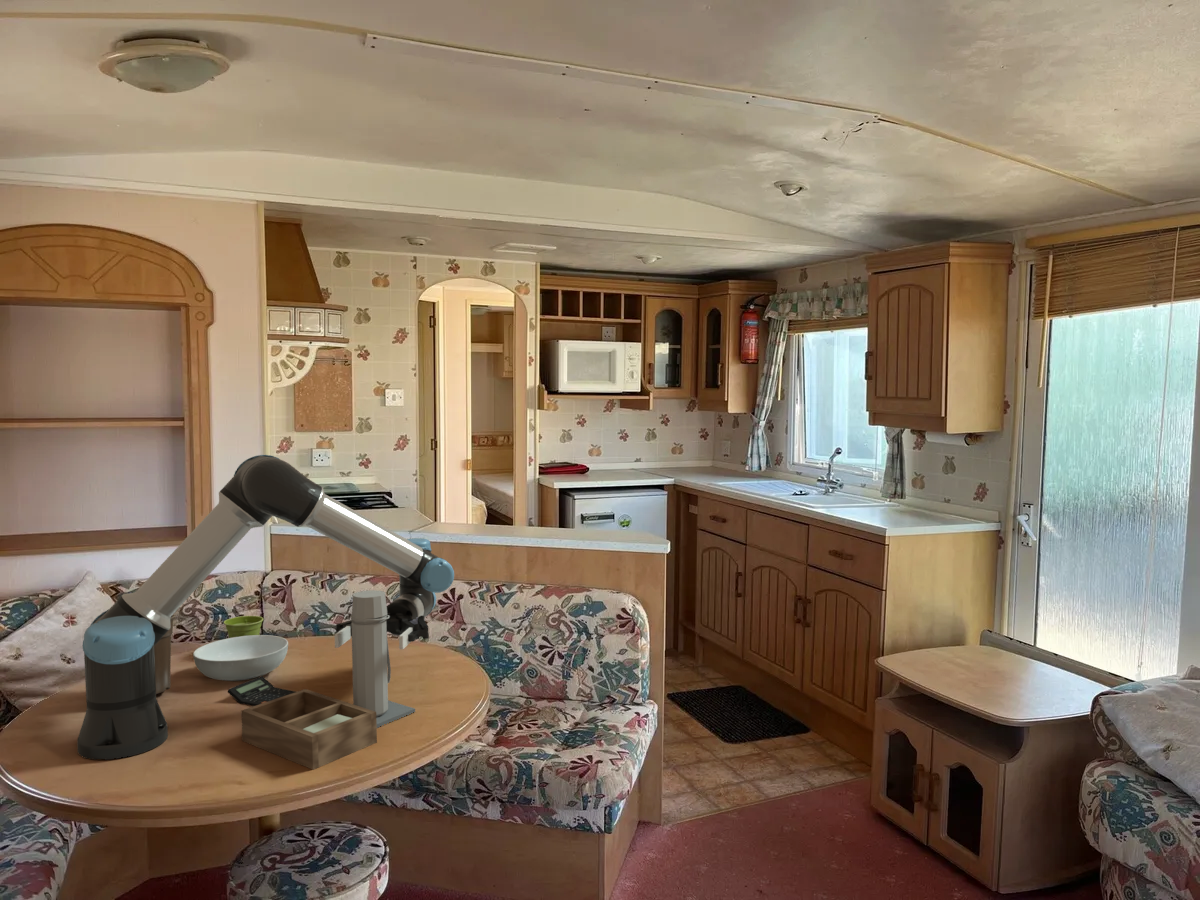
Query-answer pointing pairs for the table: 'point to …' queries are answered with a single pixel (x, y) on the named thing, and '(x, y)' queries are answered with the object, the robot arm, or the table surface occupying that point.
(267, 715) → the walnut divided tray
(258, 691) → the calculator
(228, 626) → the plant pot
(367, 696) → the water bottle
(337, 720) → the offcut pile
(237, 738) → the table surface
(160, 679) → the plant pot
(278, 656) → the serving bowl
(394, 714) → the slate mat
